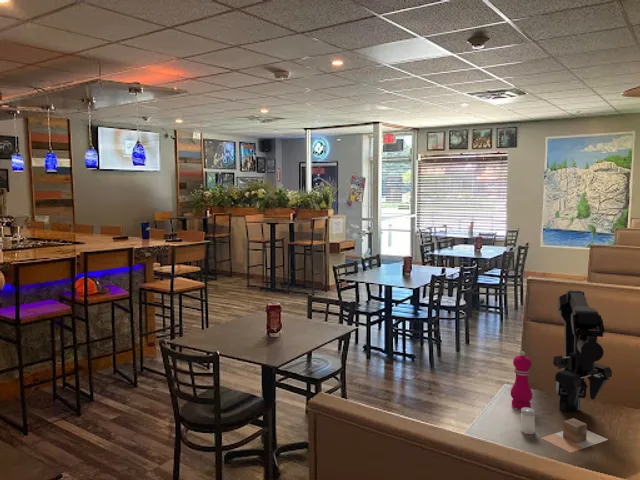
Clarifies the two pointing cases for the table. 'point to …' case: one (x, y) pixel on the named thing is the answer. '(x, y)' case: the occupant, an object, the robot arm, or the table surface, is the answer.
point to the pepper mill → (521, 382)
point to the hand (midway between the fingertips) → (582, 401)
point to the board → (571, 446)
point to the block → (574, 430)
